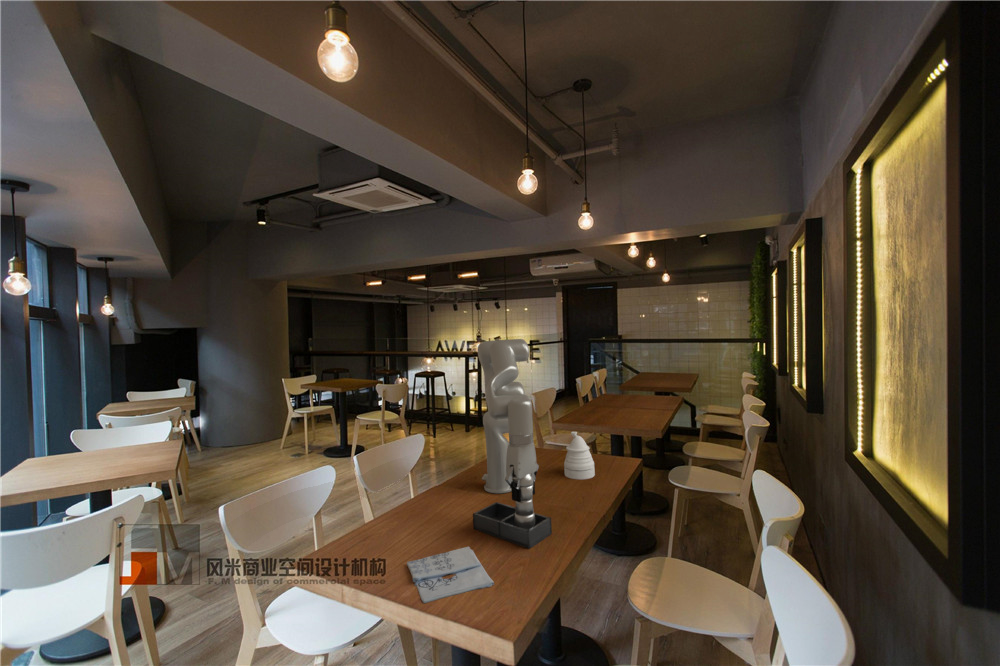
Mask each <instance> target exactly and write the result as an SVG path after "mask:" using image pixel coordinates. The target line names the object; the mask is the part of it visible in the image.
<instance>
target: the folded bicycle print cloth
mask: <svg viewBox="0 0 1000 666" xmlns="http://www.w3.org/2000/svg"><path fill="white" fill-rule="evenodd" d="M406 566H407V568H408V570H409V572H410V575H411V576H412V582H413V583H414V586H413V587H415V586H416V589H417V591H418V594H419V597H420V599H421V601H422V603H423V604H426V603H427V604H428V603H431V602H434V601H437V600H440V599H444V598H449V597H452V596H456V595H459V594H465V593H467V592H471V591H474V590H480V589H486V588H491V587H492V586H495V582H494V580H493V579H492V578H491V577H490V575H489V574H488V572H487V571H486V570H485V567H484V566H483V565H482V563H481V562H480V560H479V559H478V557H477V556H476V553H475V552H474V550H473V549H471V547H470V546H465V547H460V548H457V549H453V550H450V551H446V552H442V553H438V554H433V555H430V556H426V557H423V558H420V559H415V560H411V561H407V562H406ZM448 575H453V576H452V577H450V578H443V577H445V576H448Z"/></svg>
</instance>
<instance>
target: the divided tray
mask: <svg viewBox="0 0 1000 666" xmlns="http://www.w3.org/2000/svg"><path fill="white" fill-rule="evenodd" d="M515 509H516V506H513V505H512V506H511V505H508V504H504V503H500V502H497V501H495V502H494V503H490V505H487V506H486V507H483V508H481V509H480V510H477V511H475V512H473V513H472V523H473V530H475V531H478V532H481V533H483V534H486V535H489V536H492V537H495V538H497V539H500V540H503V541H505V542H509V543H511V544H514V545H517V546H519V547H523V548H525V549H528V550H530V549H532V548H533V547H535V546H536V545H538V544H539V543H540V542H542V541H544V540H545V539H546V538H548V537H550V536H551V535H553V533H552V532H553V530H552V517H550V516H546V515H543V514H540V513H535V512H534V514H535V525H534V527H532V528H531V529H529V530H526V529H523V528H520V527H517V526H516V525H515V521H514V518H515Z"/></svg>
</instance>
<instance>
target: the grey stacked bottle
mask: <svg viewBox="0 0 1000 666" xmlns="http://www.w3.org/2000/svg"><path fill="white" fill-rule="evenodd" d="M515 477H516V475H515ZM514 482H515V483H516V482H517V480H515V481H514ZM519 488H520V489H521V502H517V501H515V507H516V509H515V518H514V521H515V525H516V526H517V527H520V528H523V529H526V530H529V529H531V528H532V527H534V525H535V514H534V513H535V511H534V503H533V498H534V497H533V496H534V495H533V477H532V475H531V474H527V475H526V476H525V477H524V478H522V479H521V481H520V487H519Z"/></svg>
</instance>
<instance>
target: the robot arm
mask: <svg viewBox="0 0 1000 666" xmlns="http://www.w3.org/2000/svg"><path fill="white" fill-rule="evenodd" d="M477 356H478V360H479V362H480V365H481V367H482V371H483V375H484V376H483V377H484V397H485V402H486V405H487V411H486V412H485V413H484V414H483V417H482V425H483V428H484V434H485V447H486V467H487V468H486V470H487V473H484V474H483V476H481V480H482V481H485V484H484V486H483V488H484V490H485V491H486V492H488V493H490V494H505V493H510V492H511V499H512V501H513V502H516V501H517V502H521V489H520V488H519V487H520V481H521V479H522V478H524V477H525V476H526V475H527V474H531V475H532V477H533V496H534V495H536V486H535V483H536V478H537V477H536V476H537V474H538V470H539V467H540V465H539V464H538V463H537V454H536V447H535V443H534V426H533V425H534V424H533V422H534V421H533V420H534V419H533V404H532V400H531V398H530V397H529V396H528V395H527V394H525V389H524V388H525V387H524V385H523V383H521V382H519V381H516V379H517V378H518V376H519V373H520V372H519V368H518V365H517V364H518V363H519V362H526V361H528V359H529V357H530V347H529V344H528V343H527V341H526V340H524V339H522V338H516V339H512V338H510V339H495V340H484V341H482V342H480V343H478V346H477ZM505 434H508V439H507V438H506V437H505V436H504V435H505ZM515 475H516V477H515ZM515 480H517V482H516V483H515V482H514V481H515Z"/></svg>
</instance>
